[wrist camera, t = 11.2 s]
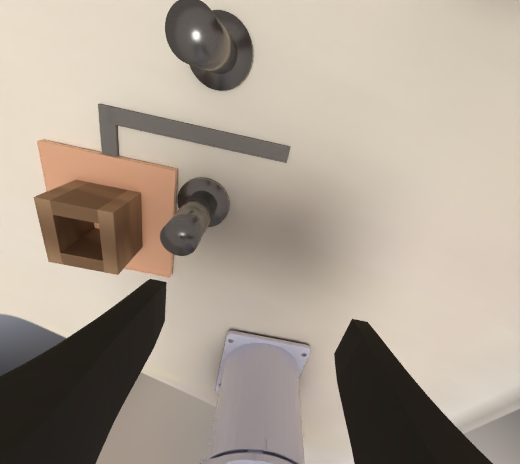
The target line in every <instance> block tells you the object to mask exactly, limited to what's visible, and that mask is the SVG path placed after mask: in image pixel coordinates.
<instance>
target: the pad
mask: <svg viewBox="0 0 520 464" xmlns="http://www.w3.org/2000/svg"><path fill="white" fill-rule="evenodd" d="M37 143H38V149H39V154H40V159H41V164H42V169H43V175H44V180H45V185H46V190H47V191H50V190H52V189H55V188H57V187H59V186H62V185H64V184H66V183H69V182H71V181H74V180H80V181H85V182H90V183H95V184H100V185H105V186H110V187H115V188H120V189H125V190H130V191H135V192H140V193H141V205H142V244H143V247H142V248H141V249H140V251H139V252H138V253H137V254H136V255H135V256H134V257H133V259H132V260H131V261H130V262H129V263H128V264H127V265H126V266H125V269H130V270H135V271H140V272H145V273H150V274H155V275H160V276H165V277H171V275H172V269H173V254H172V253H170V252H169V251H167V250H166V249H165V248H164V247H163V245H162V243H161V241H160V233H161V230H162V229H163V227H164V226H165V225H166V224H167V223H168V222H169V220H170V219H171V218H172V217H173V216H174V215H175V213H176V197H177V179H178V169H176V168H171V167H167V166H162V165H158V164H153V163H148V162H144V161H139V160H135V159H130V158H125V157H121V156H118V157H116V156H112V155H107V154H102V152H98V151H93V150H88V149H84V148H79V147H75V146H70V145H65V144H61V143H56V142H52V141H47V140H39V141H37ZM94 227H95V228H98V229H99V224H98V223H94Z"/></svg>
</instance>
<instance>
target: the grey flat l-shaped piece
mask: <svg viewBox="0 0 520 464" xmlns="http://www.w3.org/2000/svg"><path fill="white" fill-rule="evenodd" d="M98 109H99V122H100V134H101V146H102V154H107V155H112V156H116V157H118V156H119V150H118V130H117V125H118V126H123V127H127V128H132V129H136V130H141V131H145V132H150V133H154V134H159V135H163V136H168V137H172V138H177V139H181V140H186V141H190V142H195V143H199V144H204V145H208V146H213V147H217V148H222V149H226V150H231V151H235V152H240V153H244V154H249V155H253V156H258V157H262V158H267V159H271V160H276V161H280V162H285V163H286V162H287V158H288V154H289V150H290V146H285V145H281V144H277V143H272V142H268V141H263V140H259V139H254V138H250V137H245V136H241V135H237V134H232V133H228V132H223V131H219V130H214V129H210V128H205V127H201V126H196V125H192V124H188V123H183V122H179V121H174V120H170V119H165V118H161V117H156V116H152V115H147V114H143V113H139V112H134V111H130V110H125V109H121V108H116V107H112V106H107V105H103V104H98Z"/></svg>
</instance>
